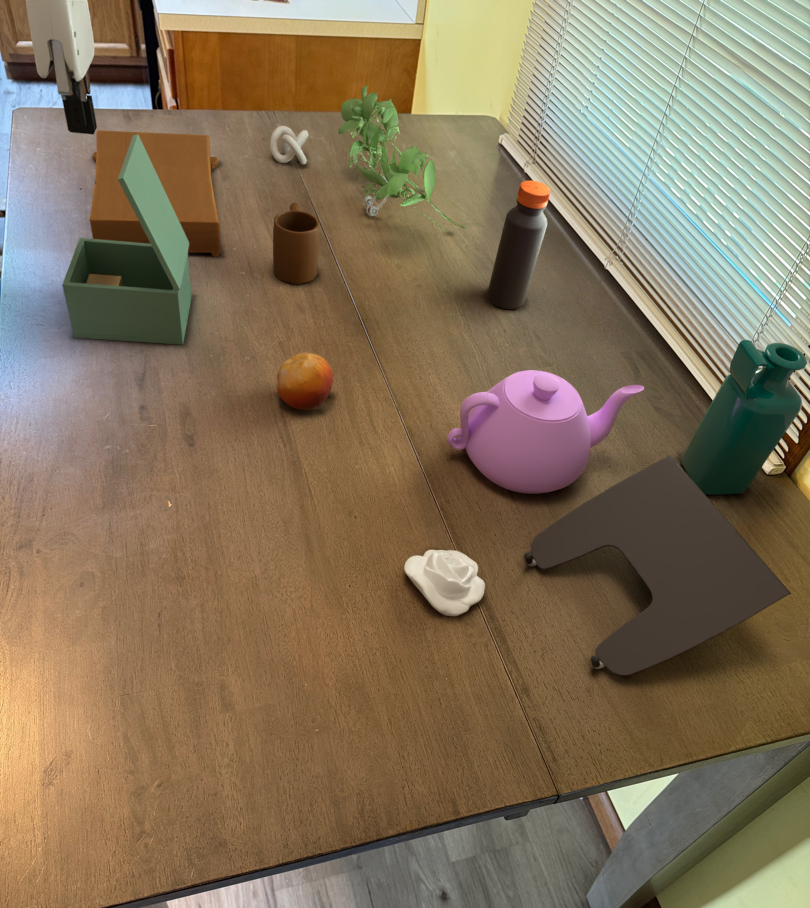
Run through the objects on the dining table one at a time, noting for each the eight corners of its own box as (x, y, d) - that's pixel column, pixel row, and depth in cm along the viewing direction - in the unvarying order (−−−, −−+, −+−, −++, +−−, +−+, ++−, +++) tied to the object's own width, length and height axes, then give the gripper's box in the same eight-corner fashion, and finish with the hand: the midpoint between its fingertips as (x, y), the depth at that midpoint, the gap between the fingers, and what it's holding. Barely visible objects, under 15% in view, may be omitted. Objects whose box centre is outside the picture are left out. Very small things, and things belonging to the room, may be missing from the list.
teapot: (454, 503, 102) (475, 425, 92) (433, 414, 113) (450, 336, 103) (628, 502, 107) (667, 428, 97) (592, 416, 118) (623, 342, 108)
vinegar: (497, 312, 133) (527, 199, 118) (480, 290, 137) (506, 178, 121) (531, 307, 135) (564, 196, 120) (512, 286, 139) (542, 176, 124)
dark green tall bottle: (725, 454, 117) (801, 331, 100) (750, 495, 111) (835, 373, 95) (666, 455, 115) (734, 330, 98) (689, 497, 109) (765, 373, 93)
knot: (268, 166, 156) (268, 136, 151) (272, 148, 161) (272, 119, 156) (305, 171, 157) (306, 141, 152) (308, 153, 162) (309, 124, 157)
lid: (117, 179, 96) (123, 177, 96) (132, 135, 104) (138, 133, 104) (174, 291, 109) (180, 290, 109) (184, 244, 117) (189, 243, 117)
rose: (398, 582, 87) (416, 521, 93) (393, 604, 90) (411, 544, 97) (483, 605, 87) (496, 542, 93) (475, 627, 90) (488, 565, 96)
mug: (271, 246, 137) (272, 194, 130) (314, 248, 138) (317, 197, 131) (273, 284, 129) (273, 231, 122) (318, 286, 131) (321, 234, 123)
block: (89, 317, 116) (83, 290, 112) (94, 300, 119) (89, 273, 115) (120, 320, 116) (116, 293, 113) (125, 302, 119) (121, 276, 116)
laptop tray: (521, 566, 104) (509, 534, 97) (670, 483, 104) (670, 444, 96) (614, 712, 92) (609, 688, 84) (784, 618, 91) (794, 585, 84)
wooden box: (78, 219, 123) (87, 121, 144) (86, 256, 127) (94, 156, 149) (228, 222, 128) (216, 127, 149) (230, 257, 133) (218, 161, 154)
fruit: (337, 417, 108) (311, 371, 103) (290, 428, 111) (262, 384, 106) (350, 382, 113) (325, 337, 108) (304, 394, 116) (278, 350, 111)
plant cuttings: (382, 201, 167) (303, 137, 151) (436, 136, 159) (360, 62, 144) (435, 293, 146) (350, 230, 131) (500, 224, 139) (419, 148, 124)
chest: (74, 337, 113) (61, 284, 107) (90, 289, 121) (79, 237, 115) (183, 345, 116) (177, 293, 109) (191, 297, 124) (187, 246, 117)
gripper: (30, -69, 88) (64, 103, 102) (-5, -30, 78) (38, 154, 92) (99, -60, 89) (123, 109, 103) (73, -20, 79) (103, 160, 93)
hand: (83, 130), depth 97 cm, fingers closed
